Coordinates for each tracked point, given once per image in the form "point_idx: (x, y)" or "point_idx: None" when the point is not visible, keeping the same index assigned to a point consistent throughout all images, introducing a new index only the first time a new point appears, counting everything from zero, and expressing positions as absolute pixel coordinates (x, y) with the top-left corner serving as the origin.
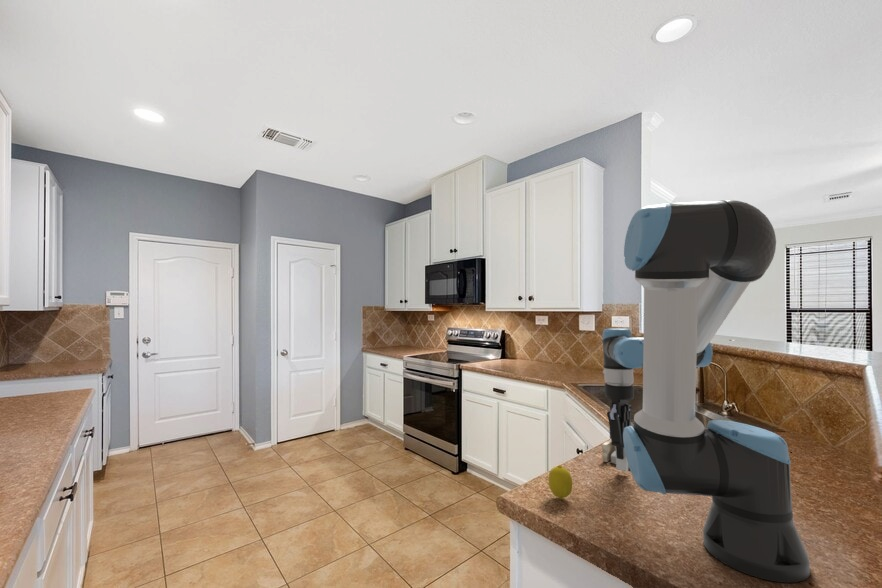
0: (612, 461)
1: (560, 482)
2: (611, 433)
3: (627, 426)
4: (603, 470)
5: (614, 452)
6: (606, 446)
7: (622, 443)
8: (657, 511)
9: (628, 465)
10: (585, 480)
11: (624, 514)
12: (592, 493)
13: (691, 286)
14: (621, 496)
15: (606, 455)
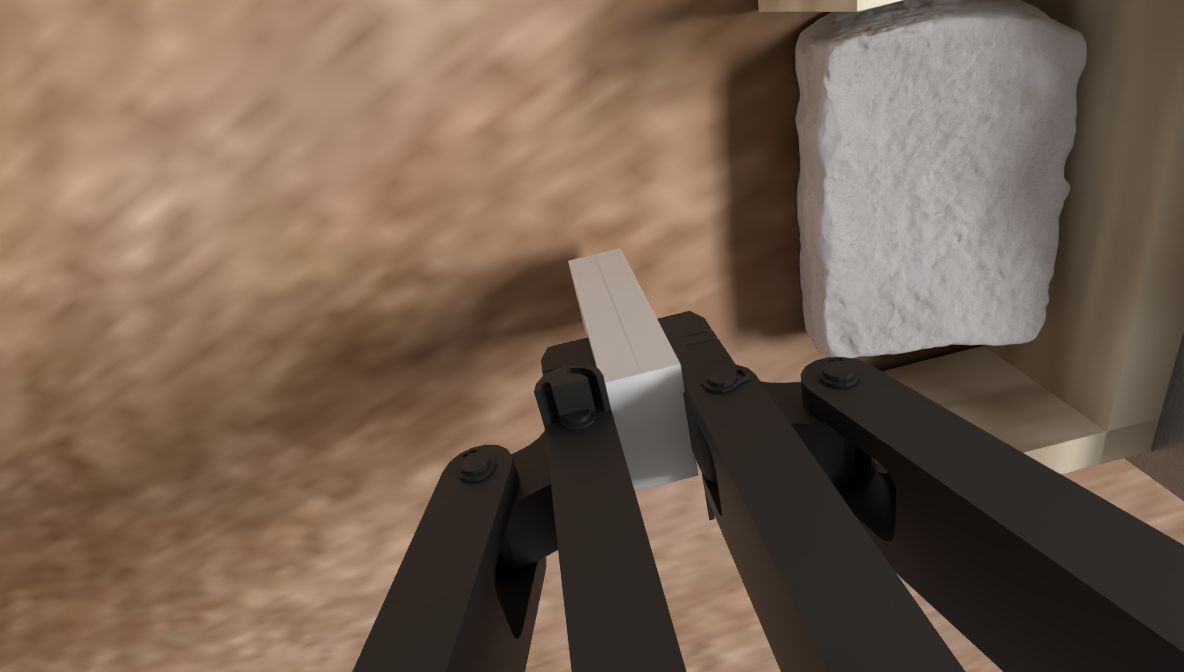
0: (799, 61)
1: None
2: (372, 654)
3: (979, 623)
4: (544, 113)
5: (924, 41)
6: (856, 8)
7: (542, 568)
8: (284, 657)
9: (802, 226)
10: (161, 162)
11: (52, 615)
12: (32, 363)
13: None
14: (234, 487)
15: (789, 10)
